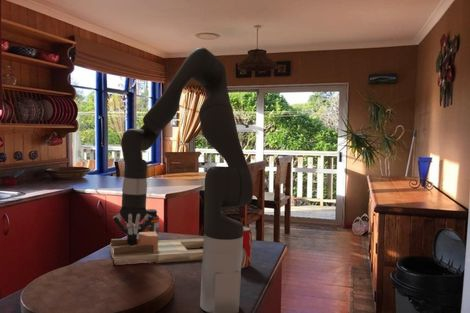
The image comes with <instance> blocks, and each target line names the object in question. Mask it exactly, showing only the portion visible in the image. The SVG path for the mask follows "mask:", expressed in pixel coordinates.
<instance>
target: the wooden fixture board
mask: <svg viewBox="0 0 470 313" xmlns="http://www.w3.org/2000/svg"><path fill="white" fill-rule="evenodd" d="M203 242H204V237H202V238H182V239H164V240H159V239H158V250H154V246H153V245H144V246H138V237H137V242H136V244H134V246H129V244H128V243H127V237H126V238H111V240H110V243H109V251H110V254H111V259H112V258H113V259H127V260H145V261H151V262H156V263H155V264H159V263H174V262H175V263H176V262H188V261H190V262H191V261H202V260H203V248H200V247H203ZM113 259H112V260H113Z"/></svg>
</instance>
